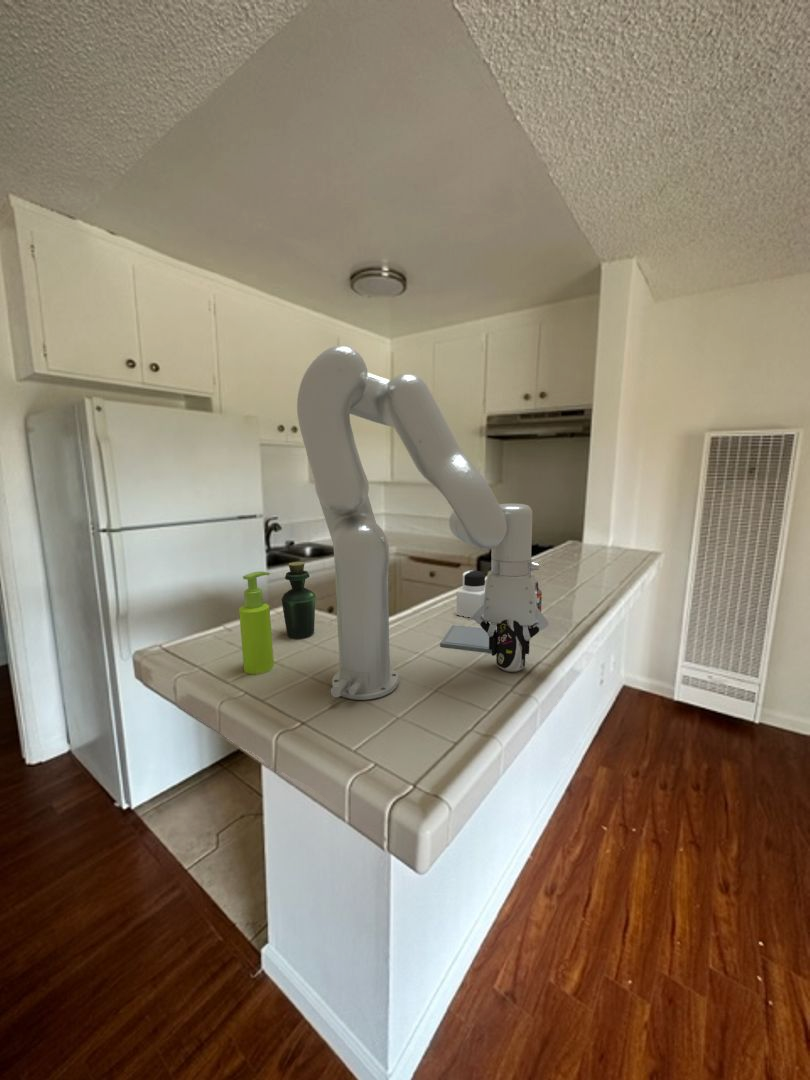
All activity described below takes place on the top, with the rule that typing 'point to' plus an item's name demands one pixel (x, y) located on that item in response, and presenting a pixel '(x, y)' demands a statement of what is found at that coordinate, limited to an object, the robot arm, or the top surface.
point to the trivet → (467, 639)
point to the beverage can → (509, 646)
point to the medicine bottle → (471, 593)
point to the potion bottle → (298, 604)
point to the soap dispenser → (256, 629)
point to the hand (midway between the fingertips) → (508, 653)
